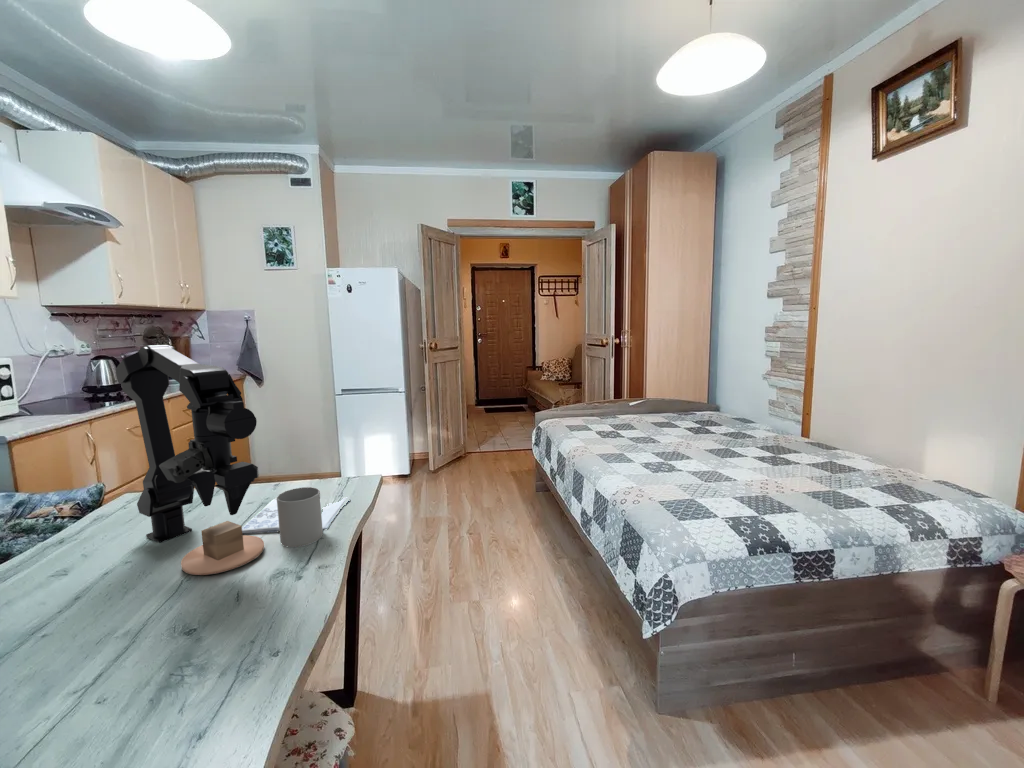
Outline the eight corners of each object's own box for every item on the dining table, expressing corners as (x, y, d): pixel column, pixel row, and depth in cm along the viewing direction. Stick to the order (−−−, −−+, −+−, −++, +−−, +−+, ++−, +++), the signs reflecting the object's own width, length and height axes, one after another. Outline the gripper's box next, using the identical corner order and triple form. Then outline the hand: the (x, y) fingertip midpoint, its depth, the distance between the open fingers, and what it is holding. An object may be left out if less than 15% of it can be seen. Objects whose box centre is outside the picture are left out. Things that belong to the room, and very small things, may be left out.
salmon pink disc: (167, 566, 87) (166, 559, 87) (239, 536, 99) (239, 530, 99) (206, 585, 80) (205, 578, 80) (279, 551, 92) (278, 544, 92)
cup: (305, 548, 93) (302, 503, 92) (271, 545, 95) (267, 500, 94) (330, 530, 101) (327, 488, 100) (298, 527, 103) (295, 486, 102)
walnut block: (203, 554, 89) (201, 530, 88) (229, 543, 93) (227, 520, 92) (217, 560, 86) (215, 536, 86) (243, 549, 91) (241, 525, 90)
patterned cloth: (275, 503, 119) (274, 496, 118) (352, 501, 120) (352, 493, 119) (235, 537, 100) (234, 528, 99) (328, 534, 101) (327, 525, 101)
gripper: (138, 437, 84) (149, 516, 86) (191, 449, 75) (201, 537, 77) (203, 425, 93) (210, 496, 95) (256, 434, 84) (263, 513, 86)
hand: (220, 510), depth 88 cm, fingers open, 9 cm apart
